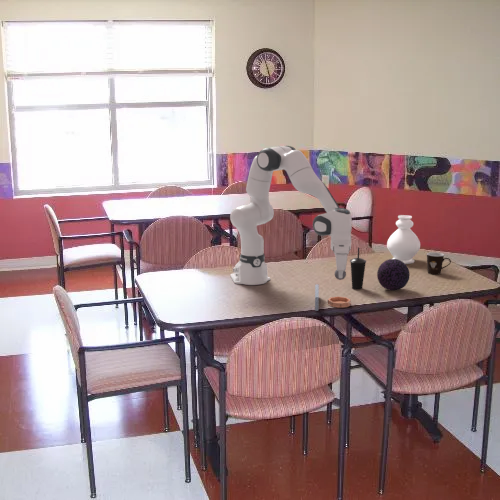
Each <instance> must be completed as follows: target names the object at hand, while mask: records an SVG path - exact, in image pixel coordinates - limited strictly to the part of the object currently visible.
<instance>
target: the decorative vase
mask: <svg viewBox="0 0 500 500" xmlns="http://www.w3.org/2000/svg"><path fill="white" fill-rule="evenodd" d="M397 218H398V220H396V221H395V225H396V227H397V229H396V230H395V231H394V232H392V233H391V235H390V236H389V238H388V239H387V242H386V247H387V249H388V251H389V253H390V254H391V256H392V258H391V259H398V260H400V261H402V262H403V263H405V264H406V265H409V264H414V263H415V259H413V258H414V257H415V256H416V255H417V253H418V252H419V251H420V248H421V242H420V241H421V240H420V238H418V236H417V234H416V233H415V232H413V230H412V229H411V228H413V226H414V222H413V221H412V218H413V216H412V215H408V214H407V215H406V214H405V215H404V214H399V215H398V216H397Z"/></svg>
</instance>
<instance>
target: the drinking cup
mask: <svg viewBox="0 0 500 500" xmlns="http://www.w3.org/2000/svg"><path fill="white" fill-rule="evenodd" d="M349 262H350V272H351V273H350V274H351V288H352V289H353V290H357V291H358V290H362V289H363V286H364V285H363V284H364V277H365V271H366V263H367V260H366V259H364V258H361V257H360V247H357V257H354V258H352V259H350V260H349Z"/></svg>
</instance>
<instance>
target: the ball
mask: <svg viewBox="0 0 500 500" xmlns="http://www.w3.org/2000/svg"><path fill="white" fill-rule="evenodd" d="M338 275H339V273H338V271H337V269H336V270H335V271H334V277H335V278H336V279H337V280H339V281H341V280H344V279H345V278H346V276H347V271H346V270H345V271H343V278H339V277H338Z"/></svg>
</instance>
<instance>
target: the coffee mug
mask: <svg viewBox="0 0 500 500" xmlns="http://www.w3.org/2000/svg"><path fill="white" fill-rule="evenodd" d="M444 257H445V254H444V253H442V252H434V251H431V252H430V251H429V252H428V253H426V262H427V263H426V265H427V273H428V274H429V275H433V276H435V275H436V276H437V275H441V273H442V270H443V269H445V268H447V267H448V266H450V264H451V263H452V260H451V259H450V258H449V257H445V258H444ZM445 260H448V261H449V263H448V264H447V265H444V266H443V262H444V261H445Z"/></svg>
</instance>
